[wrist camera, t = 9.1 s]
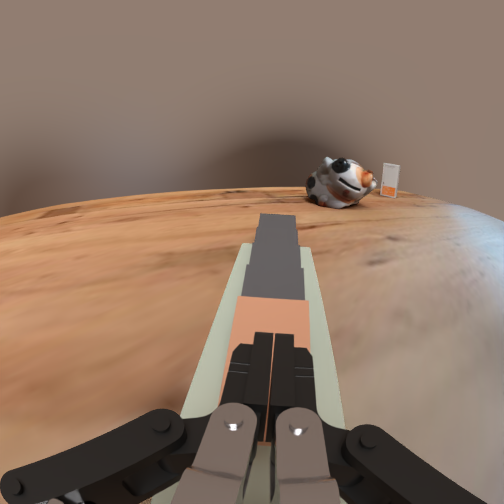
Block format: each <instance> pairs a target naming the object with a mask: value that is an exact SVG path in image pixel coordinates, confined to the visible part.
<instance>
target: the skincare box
mask: <svg viewBox="0 0 504 504" xmlns="http://www.w3.org/2000/svg"><path fill="white" fill-rule="evenodd" d="M399 174H400V166H399V165H394V164H388V163H384V168H383V176H382V184H381V192H380V195H383V196H387V197H391V198H396V197H397V190H398V181H399Z"/></svg>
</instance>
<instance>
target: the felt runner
mask: <svg viewBox="0 0 504 504" xmlns="http://www.w3.org/2000/svg"><path fill="white" fill-rule="evenodd" d="M251 249H252V244H248V243H242V246H241V248H240V251H239V254H238V256H237V259H236V262H235V264H234V267H233V270H232V273H231V275H230V278H229V281H228V283H227V286H226V289H225V292H224V294H223V297H222V300H221V303H220V305H219V308H218V311H217V314H216V316H215V319H214V322H213V325H212V327H211V330H210V333H209V336H208V338H207V341H206V344H205V347H204V350H203V352H202V355H201V358H200V361H199V364H198V366H197V369H196V372H195V375H194V378H193V381H192V383H191V386H190V389H189V392H188V395H187V398H186V400H185V403H184V406H183V409H182V412H181V415H180V417H181V418H182V419H186V418H197V417H203V416H206V415H208V414H210V413H212V412H213V411H214V410H215V409H216V408H217V407H218V401H219V396H220V390H221V385H222V379H223V373H224V368H225V362H226V357H227V351H228V346H229V341H230V335H231V330H232V324H233V319H234V313H235V308H236V303H237V297H238V296H241V293H242V287H243V282H244V276H245V270H246V265H247V264H249V261H250V255H251ZM300 253H301V268H304V286H305V300H308V301H309V320H310V354H311V355H312V357H313V366H314V368H313V369H314V378H315V391H316V405H317V412H318V414H319V416H320V417H321V419H322V420H323V421H324V422H326V423H327V424H329V425H331V426H334V427H337V428H341V429H345V423H344V416H343V409H342V403H341V397H340V390H339V384H338V379H337V373H336V367H335V362H334V356H333V351H332V346H331V341H330V335H329V330H328V326H327V321H326V316H325V311H324V306H323V302H322V297H321V293H320V288H319V284H318V280H317V275H316V271H315V267H314V263H313V258H312V254H311V250H310V247H300ZM270 451H271V446H260V445H257V452H256V456H255V458H254V461H253V465H252V470H251V474H250V478H249V482H248V487H247V491H246V495H245V499H244V503H243V504H269V458H270ZM178 484H179V481H178V482H177V483H175V484H173V485H172V486H170V487H168V488H166V489H165V490H163V491H161V492H159V493H157V494H156V495H154V496H153V497H152V500H151V503H150V504H171V501H172V499H173V496H174V494H175V491H176V489H177V486H178ZM340 503H341V504H348V503H346V502H345V501H344V500H343V499H342V498H341V497H340Z"/></svg>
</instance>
